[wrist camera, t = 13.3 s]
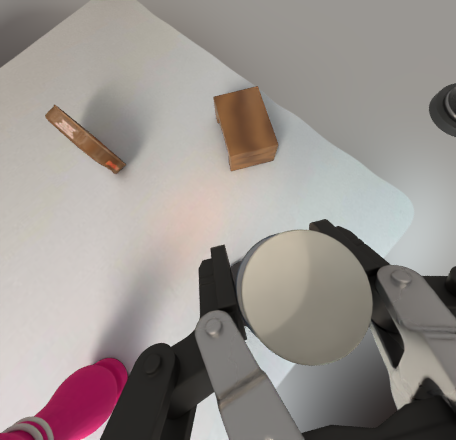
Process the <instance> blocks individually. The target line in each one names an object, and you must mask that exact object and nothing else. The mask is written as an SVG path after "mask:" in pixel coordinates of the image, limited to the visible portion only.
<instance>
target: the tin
mask: <svg viewBox="0 0 456 440" xmlns="http://www.w3.org/2000/svg"><path fill="white" fill-rule="evenodd" d="M45 117H46V119H47V120H48V121H49V122H50V123H52V124H53V125H54V126H55V127H56V128H57V129H58V130H59V131H60V132H61V133H63V134H64V135H65V136H66V137H67V138H68V139H69V140H70V141H72V142H73V143H74V144H75V145H76V146H77V147H78V148H80V149H81V150H82V151H83V152H85V153H86V154H87V155H88V156H90V157H91V158H92V159H94V160H95V161H96V162H98V163H99V164H101V165H103V166H105V167H107V168H108V169H110V170H111V171H112V172H113V173H114V174H117V173H118V172H119V171H120V170H121V169H122V168H123V167H124V166H126V164H125V163H124V162H123V161H122V160H121V159H120V158H118V157H117V156H116V155H115V154H114V153H113V152H112V151H110V150H109V149H108V148H107V147H106V146H105V145H103V144H102V143H101V142H100V141H99V140H98V139H96V138H95V137H94V136H93V135H92V134H90V133H89V132H88V131H87V130H86V129H84V128H83V127H82V126H81V125H80V124H78V123H77V122H76V121H75V120H73V119H72V118H71V117H70V116H69V115H67V114H66V113H65V112H64V111H62V110H61V109H60V108H59V107H57V106H56V105H54V107H53V108H52V109H51V110H50V111H49V112H48V113H47V114H46V115H45Z"/></svg>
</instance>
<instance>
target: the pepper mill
mask: <svg viewBox="0 0 456 440" xmlns="http://www.w3.org/2000/svg"><path fill="white" fill-rule="evenodd" d="M127 379H128V375H127V372H126V369H125V367H124V365H123V364H122V363H121V362H120V361H118V360H117V359H113V358H105V359H102V360H100V361H98V362H97V363H95V364H94V365H89V366H86V367H83V368H81V369H79V370H77V371H76V372H74V373H73V374H72V375H70V376H69V377H68V378H67V379H66V380H65V381H64V382H63V383H62V384H61V385H60V386H59V388H58V389H57V390H56V392H55V393H54V395H53V396H52V398H51V399H50V401H49V402H48V403H47V405H46V406H45V407H44V408H43V409H42V410H41V411H40V412H38V413H37V414H36V415H35V416H34V417H26V418H23V419H21V420H19V421H17V422H16V423H15V424H14V425H12V426H11V427H9V428H7V429H6V430H4V431H3V432H2V433H0V440H81V439H83V438H85V437H87V436H88V435H90V434H92V433H93V432H95V431H96V430H97V429H98V428H99V427H100V426H101V425H102V424H103V423H104V422H105V421H106V420H107V419H108V417H109V416H110V414H111V413H112V411H113V409H114V406H115V404H116V403H117V401H118V399H119V397H120V395H121V393H122V390H123V388H124V386H125V384H126V382H127Z"/></svg>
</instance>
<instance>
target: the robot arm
mask: <svg viewBox="0 0 456 440" xmlns="http://www.w3.org/2000/svg"><path fill="white" fill-rule="evenodd" d="M443 107H444V110H445V112H446V114H447V115H448V116H449V117H450V118H451V119H452V120H453V121H454V122H456V87H454V88H453V89H452V90H451V91H449V92H448V93H447V94H446V95H445V97H444V100H443ZM309 230H311V231H316V232H320V233H323V234H325V235H328V236H330V237H332V238H334V239H335V240H337V241H339V242H340V243H341V244H343V245H344V246H345V247H346V248H348V249H349V250H350V251H351V252H352V253H353V254H354V256H355V257H356V258H357V260H358V261H359V262H360V264H361V266H362V267H363V269H364V271H365V273H366V275H367V277H368V280H369V283H370V287H371V292H372V301H373V306H372V316H371V321H370V324H369V327H370V329H371V332H372V334H373V336H374V339H375V341H376V344H377V346H378V348H379V351H380V353H381V355H382V358H383V360H384V363H385V365H386V367H387V370H388V372H389V377H390V386H391V391H392V395H393V399H394V401H395V404H396V407H397V409H398V411H396V412H395V413H394V414H393V415H392V416H390V417H389V418H388V419H387V420H386V421H384V422H383V423H382V424H381V425H380V426H378V427H376V428H363V427H352V426H339V425H329V426H325V427H322V428H319V429H315V430H311V431H307V432H304V433H301V432H300V431H299V429H298V427H297V426H296V424H295V422H294V420H293V419H292V417H291V415H290V414H289V412H288V410H287V408H286V406H285V405H284V403H283V401H282V400H281V398H280V396H279V395H278V393H277V391H276V389H275V387H274V386H273V384H272V382H271V381H270V379H269V378H268V376H267V375H266V373H265V372H264V371H262V370H261V369H260V367H259V365H258V364H257V362H256V360H255V359H254V357H253V355H252V353H251V351H250V350H249V348H248V346H247V344H246V343H245V341H244V340H247V337H246V332H245V328H244V323H243V319H242V316H241V314H240V310H239V306H238V302H237V298H236V292H235V284H234V279H233V275H232V271H231V267H230V263H229V259H228V256H227V252H226V248H225V245H220V246H216V247H213V248H211V259H207V260H203V261H202V263H201V265H200V267H199V295H200V319H199V321H198V323H197V325H196V328H195V330H194V331H193V332H192V333H191V334H190V335H189V336H188V337H186V338H185V339H183V340H181V341H180V342H178V343H177V344H175V345H173V346H172V347H170V346H169V345H168V344H165V343H158V344H154V345H152V346H150V347H149V348H147V349H146V350H145V351H144V352H143V353H142V354H141V355H140V356H139V357H138V359H137V360H136V362H135V364H134V366H133V369H132V371H131V373H130V375H129V377H128V379H127V382H126V384H125V386H124V388H123V390H122V393H121V395H120V397H119V399H118V401H117V403H116V406H115V408H114V410H113V412H112V414H111V417H110V419H109V421H108V423H107V425H106V427H105V430H104V432H103V434H102V436H101V438H100V440H190V437H191V432H192V427H193V422H194V417H195V412H196V407H197V404H198V403H200V402H201V401H202V400H204V399H205V398H207V397H208V396H209V395H211V394H212V393H213V392H215V395H216V398H217V404H218V408H219V411H220V414H221V418H222V420H223V423H224V426H225V429H226V432H227V435H228V438H229V440H456V266H455V267H453V268H452V269H451V271H450V273H449V275H448V276H421V275H420V274H418V273H417V272H415V271H413V270H411V269H409V268H406V267H403V266H398V265H390V264H389V263H388V262H387V261H385V260H384V259H383V258H382V257H381V256H380V255H378V254H377V253H376V252H375V251H374V250H372V249H371V248H370V247H369V246H368V245H366V244H364V242H363V241H362V240H360V239H358V238H357V236H356V235H354V234H353V233H352V232H351V231H349V230H347V229H345V228H342V227H340V226H337V227H335V226H334V225H332V224H331V223H330V222H329V221H328V220H326V219H324V220H320V221H316V222H312V223H310V225H309Z"/></svg>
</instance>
